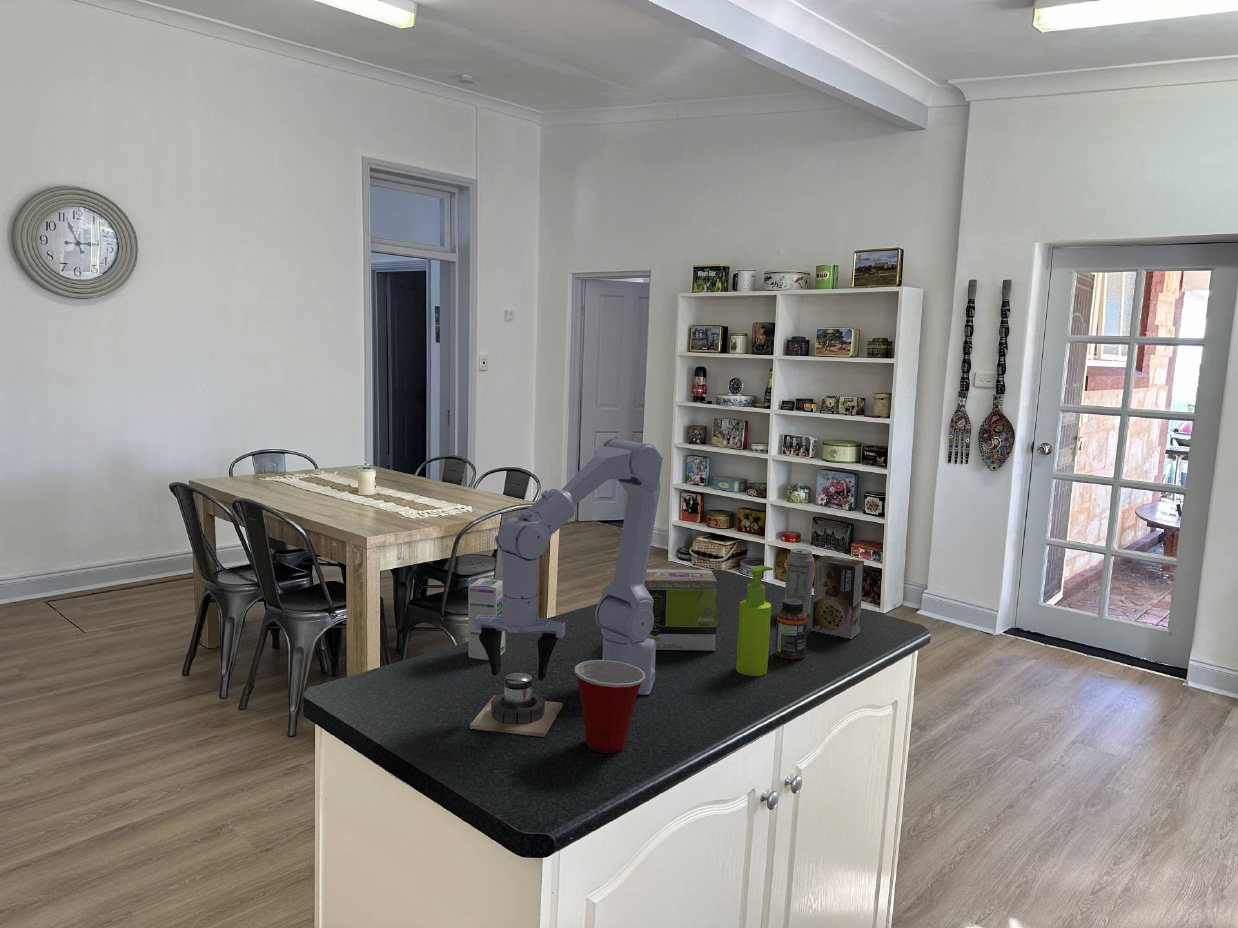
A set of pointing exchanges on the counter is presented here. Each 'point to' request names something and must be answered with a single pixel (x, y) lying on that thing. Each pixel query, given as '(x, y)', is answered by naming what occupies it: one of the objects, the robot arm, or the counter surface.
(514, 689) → the silver capped cylinder
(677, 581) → the tea box
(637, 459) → the robot arm
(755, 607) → the soap dispenser
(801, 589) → the energy drink can
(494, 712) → the mount plate
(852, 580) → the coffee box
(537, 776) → the counter surface
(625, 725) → the plastic cup
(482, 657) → the syrup box
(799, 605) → the supplement bottle
